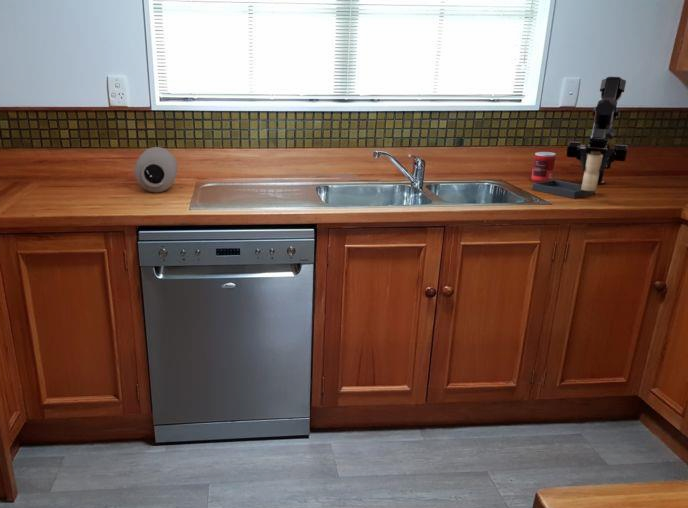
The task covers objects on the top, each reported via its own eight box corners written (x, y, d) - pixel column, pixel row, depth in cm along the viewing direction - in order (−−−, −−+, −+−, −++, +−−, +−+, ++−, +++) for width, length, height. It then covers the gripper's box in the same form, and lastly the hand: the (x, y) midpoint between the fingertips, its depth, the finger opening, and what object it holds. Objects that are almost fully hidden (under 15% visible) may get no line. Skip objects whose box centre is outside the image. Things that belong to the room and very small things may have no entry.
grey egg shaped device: (195, 172, 233) (180, 175, 209) (171, 201, 237) (154, 207, 212) (157, 138, 231) (138, 138, 207) (133, 168, 234) (112, 170, 210)
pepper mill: (586, 187, 215) (593, 150, 210) (598, 189, 211) (606, 152, 206) (578, 189, 213) (585, 151, 208) (591, 191, 209) (598, 153, 204)
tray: (553, 185, 236) (554, 179, 235) (594, 193, 223) (596, 187, 222) (532, 189, 230) (533, 183, 229) (573, 198, 216) (575, 191, 215)
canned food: (547, 179, 248) (552, 151, 244) (553, 183, 241) (558, 155, 237) (528, 178, 249) (532, 151, 245) (534, 182, 242) (538, 154, 238)
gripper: (572, 117, 210) (563, 154, 206) (633, 120, 202) (625, 159, 197) (571, 138, 220) (562, 174, 215) (629, 141, 211) (621, 179, 207)
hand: (591, 171), depth 208 cm, fingers closed on pepper mill, 5 cm apart
